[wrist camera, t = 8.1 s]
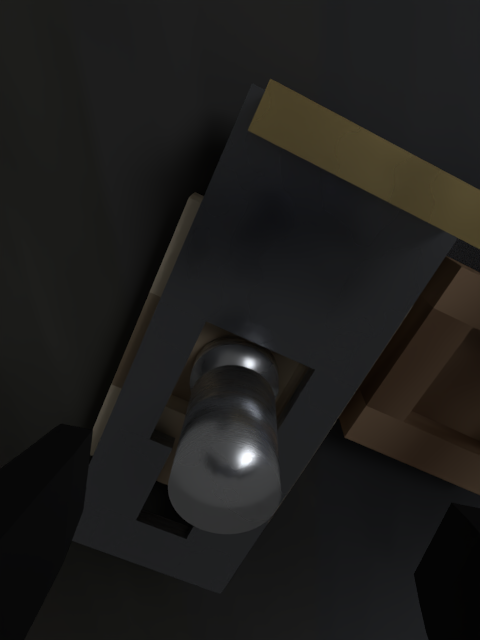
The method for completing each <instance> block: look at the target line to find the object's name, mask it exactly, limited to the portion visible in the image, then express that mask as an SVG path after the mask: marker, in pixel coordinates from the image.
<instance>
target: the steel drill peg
mask: <svg viewBox="0 0 480 640" xmlns="http://www.w3.org/2000/svg"><path fill="white" fill-rule="evenodd" d="M190 390H191V395H190V399H189V403H188V407H187V411H186V415H185V419H184V423H183V427H182V430H181V434H180V438H179V442H178V446H177V450H176V454H175V458H174V462H173V465H172V469H171V473H170V477H169V481H168V495H169V498H170V501H171V503H172V506H173V507H174V509H175V510H176V512H177V513H178V514H179V515H180V516H181V517H182V518H183V519H184V520H185V521H187V522H188V523H189V524H191V525H193V526H195V527H197V528H199V529H201V530H204V531H207V532H211V533H217V534H237V533H243V532H246V531H250V530H252V529H255V528H257V527H258V526H260V525H262V524H263V523H265V522H266V521H267V520H268V519H269V518H270V517H271V516H272V515H273V514H274V512H275V511H276V509H277V507H278V505H279V502H280V498H281V481H280V466H279V451H278V436H277V421H276V406H275V399H276V397H277V394H278V390H279V377H278V367H277V363H276V360H275V358H274V356H273V354H272V353H271V351H270V350H269V349H267V348H265V347H262V346H260V345H258V344H256V343H253V342H251V341H249V340H247V339H244V338H242V337H240V336H238V335H235V334H229V335H223V336H220V337H217V338H215V339H213V340H211V341H209V342H208V343H207V344H205V345H204V346H203V347H202V348H201V350H200V351H199V352H198V354H197V356H196V358H195V361H194V364H193V368H192V372H191V376H190Z"/></svg>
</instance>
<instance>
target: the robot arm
mask: <svg viewBox="0 0 480 640" xmlns="http://www.w3.org/2000/svg"><path fill="white" fill-rule="evenodd" d="M92 435H93V430H89V429H84V428H80V427H75V426H70V425H65V424H60V425H59V426H57V427H55V428H54V429H52V430H51V431H50V432H49V433H47V434H46V435H45V436H43V437H42V438H41V439H39V440H38V441H37V442H36V443H34V444H33V445H32V446H30V447H29V448H28V449H26V450H25V451H24V452H22V453H21V454H20V455H18V456H17V457H16V458H14V459H13V460H12V461H10V462H9V463H8V464H6V465H5V466H4V467H2V468H1V469H0V640H24V639H25V637H26V635H27V633H28V631H29V629H30V627H31V625H32V623H33V621H34V619H35V617H36V615H37V613H38V611H39V610H40V608H41V606H42V604H43V602H44V600H45V598H46V596H47V594H48V592H49V590H50V588H51V586H52V584H53V582H54V580H55V578H56V576H57V574H58V572H59V570H60V568H61V566H62V564H63V562H64V559H65V557H66V554H67V552H68V549H69V546H70V544H71V541H72V539H73V536H74V534H75V531H76V528H77V526H78V523H79V521H80V518H81V515H82V513H83V509H84V501H85V493H86V484H87V476H88V468H89V460H90V451H91V443H92ZM414 577H415V582H416V587H417V592H418V597H419V602H420V607H421V611H422V616H423V620H424V625H425V629H426V633H427V636H428V639H429V640H480V508H475V507H470V506H465V505H460V504H455V503H451V505H450V507H449V508H448V510H447V512H446V514H445V516H444V518H443V520H442V522H441V524H440V526H439V527H438V529H437V531H436V533H435V535H434V537H433V539H432V541H431V543H430V545H429V546H428V548H427V550H426V552H425V554H424V556H423V558H422V560H421V562H420V564H419V566H418V567H417V569H416V571H415V573H414Z"/></svg>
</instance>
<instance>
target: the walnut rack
mask: <svg viewBox="0 0 480 640" xmlns="http://www.w3.org/2000/svg"><path fill="white" fill-rule="evenodd" d="M339 420H340V424H341V427H342V431H343V434H344V437H345V438H347V439H349V440H352V441H354V442H356V443H359V444H361V445H363V446H366V447H368V448H370V449H373V450H375V451H377V452H380V453H382V454H384V455H387V456H389V457H392V458H394V459H396V460H399V461H401V462H403V463H406V464H408V465H410V466H413V467H415V468H417V469H420V470H422V471H424V472H427V473H429V474H431V475H434V476H436V477H438V478H441V479H443V480H445V481H448V482H450V483H453V484H455V485H457V486H460V487H462V488H464V489H467V490H469V491H471V492H474V493H476V494H478V495H480V272H478V271H476V270H474V269H472V268H470V267H468V266H466V265H464V264H462V263H460V262H458V261H456V260H454V259H452V258H450V257H448V256H446V257H445V258H444V260H443V261H442V263H441V264H440V266H439V267H438V269H437V270H436V272H435V273H434V275H433V276H432V278H431V279H430V281H429V282H428V284H427V285H426V287H425V288H424V290H423V291H422V293H421V294H420V296H419V297H418V299H417V300H416V302H415V303H414V305H413V307H412V308H411V310H410V311H409V313H408V314H407V316H406V317H405V319H404V320H403V322H402V323H401V325H400V326H399V328H398V329H397V331H396V332H395V334H394V335H393V337H392V338H391V340H390V341H389V343H388V344H387V346H386V347H385V349H384V350H383V352H382V353H381V355H380V356H379V358H378V359H377V361H376V362H375V364H374V365H373V367H372V368H371V370H370V371H369V373H368V374H367V376H366V377H365V379H364V380H363V382H362V383H361V385H360V386H359V388H358V389H357V391H356V392H355V394H354V395H353V397H352V398H351V400H350V401H349V403H348V404H347V406H346V407H345V409H344V410H343V412H342V413H341V415H340V416H339Z"/></svg>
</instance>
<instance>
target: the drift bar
mask: <svg viewBox="0 0 480 640" xmlns="http://www.w3.org/2000/svg"><path fill="white" fill-rule="evenodd" d="M458 238H459V239H461V240H463V241H465V242H467V243H469V244H471V245H473V246H475V247H477V248H479V249H480V190H479V189H477V188H475V187H473V186H471V185H469V184H467V183H465V182H464V181H462V180H460V179H458V178H456V177H454V176H452V175H450V174H449V173H447V172H445V171H443V170H441V169H439V168H437V167H435V166H433V165H432V164H430V163H428V162H426V161H424V160H422V159H420V158H418V157H417V156H415V155H413V154H411V153H409V152H407V151H405V150H403V149H402V148H400V147H398V146H396V145H394V144H392V143H390V142H388V141H386V140H385V139H383V138H381V137H379V136H377V135H375V134H373V133H371V132H370V131H368V130H366V129H364V128H362V127H360V126H358V125H356V124H355V123H353V122H351V121H349V120H347V119H345V118H343V117H341V116H340V115H338V114H336V113H334V112H332V111H330V110H328V109H326V108H324V107H323V106H321V105H319V104H317V103H315V102H313V101H311V100H309V99H308V98H306V97H304V96H302V95H300V94H298V93H296V92H294V91H293V90H291V89H289V88H287V87H285V86H283V85H281V84H279V83H278V82H276V81H274V80H272V79H270V81H269V83H268V85H267V88H266V90H264V89H262V88H260V87H258V86H256V85H255V84H253V83H252V85H251V87H250V90H249V92H248V94H247V97H246V99H245V101H244V104H243V106H242V108H241V111H240V113H239V115H238V118H237V120H236V122H235V125H234V127H233V129H232V132H231V134H230V136H229V139H228V141H227V143H226V146H225V148H224V150H223V153H222V155H221V157H220V160H219V162H218V164H217V167H216V169H215V171H214V174H213V176H212V178H211V181H210V183H209V186H208V188H207V190H206V193H205V195H204V197H203V200H202V202H201V204H200V207H199V209H198V211H197V214H196V216H195V218H194V221H193V223H192V225H191V228H190V230H189V232H188V235H187V237H186V239H185V242H184V244H183V246H182V249H181V251H180V253H179V256H178V258H177V260H176V263H175V265H174V267H173V270H172V272H171V274H170V277H169V279H168V281H167V284H166V286H165V288H164V291H163V293H162V295H161V298H160V300H159V303H158V305H157V307H156V310H155V312H154V314H153V317H152V319H151V321H150V324H149V326H148V328H147V331H146V333H145V335H144V338H143V340H142V342H141V345H140V347H139V349H138V352H137V354H136V356H135V359H134V361H133V363H132V366H131V368H130V370H129V373H128V375H127V377H126V380H125V382H124V384H123V387H122V389H121V391H120V394H119V396H118V398H117V401H116V403H115V405H114V408H113V410H112V412H111V415H110V417H109V420H108V422H107V424H106V427H105V429H104V431H103V434H102V436H101V438H100V441H99V443H98V445H97V448H96V450H95V452H94V455H93V457H92V459H91V462H90V464H89V468H88V476H87V484H86V493H85V501H84V509H83V513H82V515H81V518H80V521H79V523H78V526H77V528H76V531H75V534H74V536H73V539H72V541H74V542H77V543H79V544H82V545H85V546H88V547H91V548H93V549H96V550H99V551H102V552H105V553H107V554H110V555H113V556H116V557H118V558H121V559H124V560H127V561H130V562H132V563H135V564H138V565H141V566H143V567H146V568H149V569H152V570H155V571H157V572H160V573H163V574H166V575H169V576H171V577H174V578H177V579H180V580H182V581H185V582H188V583H191V584H194V585H196V586H199V587H202V588H205V589H207V590H210V591H213V592H216V593H219V594H221V593H222V591H223V590H224V588H225V587H226V585H227V584H228V582H229V581H230V579H231V578H232V576H233V575H234V573H235V572H236V570H237V569H238V567H239V566H240V564H241V563H242V561H243V560H244V558H245V557H246V555H247V554H248V552H249V551H250V549H251V548H252V546H253V545H254V543H255V542H256V540H257V539H258V537H259V536H260V534H261V533H262V531H263V530H264V528H265V527H266V525H267V524H268V522H269V521H270V519H271V518H272V516H273V515H274V514H273V515H272V516H271V517H270V518H269V519H268V520H267V521H266V522H265V523H263V524H262V525H260V526H258V527H257V528H255V529H252V530H250V531H246V532H243V533H237V534H217V533H211V532H207V531H204V530H201V529H199V528H197V527H195V526H193V525H191V524H190V525H189V526H186V525H183V524H181V523H178V522H175V521H173V520H170V519H167V518H165V517H162V516H159V515H157V514H154V513H152V512H149V511H146V510H144V509H142V507H143V505H144V504H145V502H146V500H147V498H148V496H149V494H150V492H151V490H152V488H153V486H154V484H155V482H156V480H157V478H158V476H159V474H160V472H161V470H162V468H163V466H164V464H165V462H166V460H167V458H168V456H169V454H170V453H171V451H172V449H173V445H174V441H175V438H174V437H172V436H169V435H167V434H165V433H162V432H160V431H157V430H155V427H156V425H157V423H158V421H159V419H160V416H161V414H162V412H163V410H164V408H165V406H166V404H167V402H168V400H169V398H170V396H171V394H172V391H173V389H174V387H175V385H176V383H177V381H178V379H179V377H180V375H181V373H182V371H183V369H184V366H185V364H186V362H187V360H188V358H189V356H190V354H191V352H192V350H193V348H194V346H195V344H196V342H197V339H198V337H199V335H200V333H201V331H202V329H203V327H204V325H205V323H206V322H208V323H211V324H213V325H215V326H217V327H220V328H222V329H224V330H226V331H229V332H231V333H233V334H235V335H238V336H240V337H242V338H244V339H247V340H249V341H251V342H253V343H256V344H258V345H260V346H262V347H265V348H267V349H269V350H271V351H274V352H276V353H278V354H280V355H283V356H285V357H287V358H289V359H292V360H294V361H296V362H298V363H301V364H303V365H305V366H307V367H309V368H308V370H307V372H306V373H305V375H304V377H303V378H302V380H301V382H300V383H299V385H298V387H297V388H296V390H295V392H294V393H293V395H292V396H291V398H290V400H289V401H288V403H287V405H286V406H285V408H284V410H283V411H282V413H281V415H280V416H279V418H278V420H277V436H278V451H279V466H280V481H281V498H280V502H279V505H278V507H279V506H280V504H281V503H282V501H283V500H284V498H285V497H286V495H287V494H288V492H289V491H290V489H291V488H292V486H293V485H294V483H295V482H296V480H297V479H298V477H299V476H300V474H301V473H302V471H303V470H304V468H305V467H306V465H307V464H308V462H309V461H310V459H311V458H312V456H313V455H314V453H315V452H316V450H317V449H318V447H319V446H320V444H321V443H322V441H323V440H324V438H325V437H326V435H327V434H328V432H329V431H330V429H331V428H332V426H333V425H334V423H335V422H336V420H337V419H338V417H339V416H340V414H341V413H342V411H343V410H344V408H345V407H346V405H347V404H348V402H349V401H350V399H351V398H352V396H353V395H354V393H355V392H356V390H357V389H358V387H359V386H360V384H361V383H362V381H363V380H364V378H365V377H366V375H367V374H368V372H369V371H370V369H371V368H372V366H373V365H374V363H375V362H376V360H377V359H378V357H379V356H380V354H381V353H382V351H383V350H384V348H385V347H386V345H387V344H388V342H389V341H390V339H391V338H392V336H393V335H394V333H395V332H396V330H397V329H398V327H399V326H400V324H401V323H402V321H403V320H404V318H405V317H406V315H407V314H408V312H409V311H410V309H411V308H412V306H413V305H414V303H415V302H416V300H417V299H418V297H419V296H420V294H421V293H422V291H423V290H424V288H425V287H426V285H427V284H428V282H429V281H430V279H431V278H432V276H433V275H434V273H435V272H436V270H437V269H438V267H439V266H440V264H441V263H442V261H443V260H444V258H445V257H446V255H447V254H448V252H449V251H450V249H451V248H452V246H453V245H454V243H455V242H456V240H457V239H458ZM278 507H277V509H278ZM277 509H276V510H277ZM275 512H276V511H275ZM275 512H274V513H275Z"/></svg>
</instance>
